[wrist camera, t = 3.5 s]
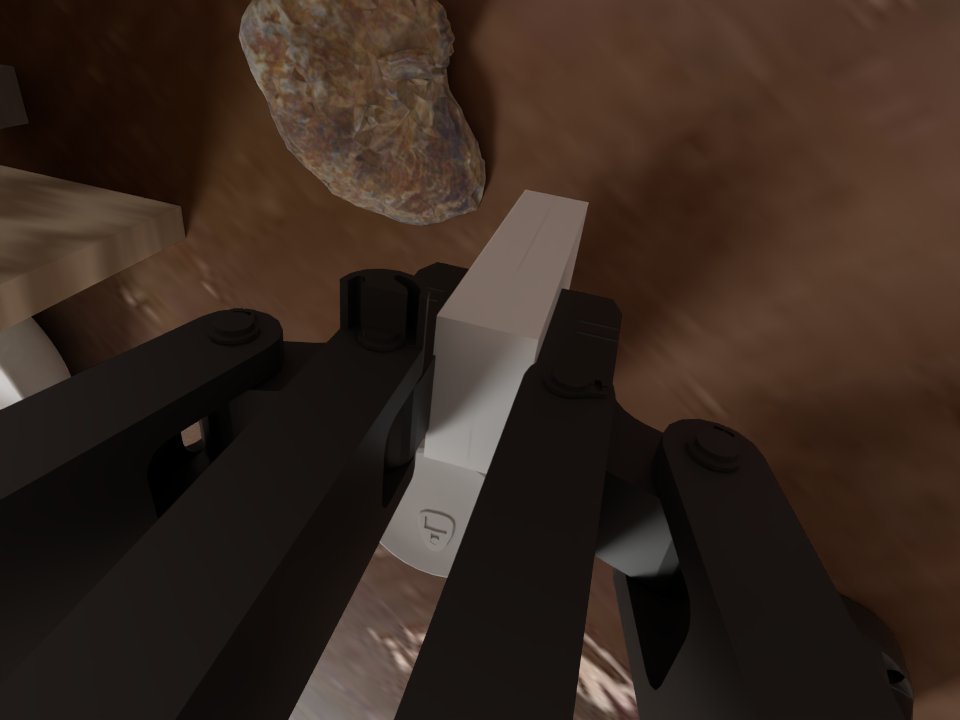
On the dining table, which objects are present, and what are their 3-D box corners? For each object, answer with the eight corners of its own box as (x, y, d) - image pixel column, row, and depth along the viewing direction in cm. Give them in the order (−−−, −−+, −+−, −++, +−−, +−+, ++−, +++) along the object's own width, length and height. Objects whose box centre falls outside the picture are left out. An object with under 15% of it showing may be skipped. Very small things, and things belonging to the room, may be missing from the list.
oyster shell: (336, 232, 34) (291, 265, 30) (254, -26, 28) (184, -29, 24) (498, 212, 31) (473, 245, 27) (444, -81, 25) (402, -95, 21)
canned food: (447, 439, 39) (381, 574, 30) (420, 329, 35) (335, 445, 26) (565, 442, 37) (531, 588, 28) (550, 324, 33) (505, 449, 24)
